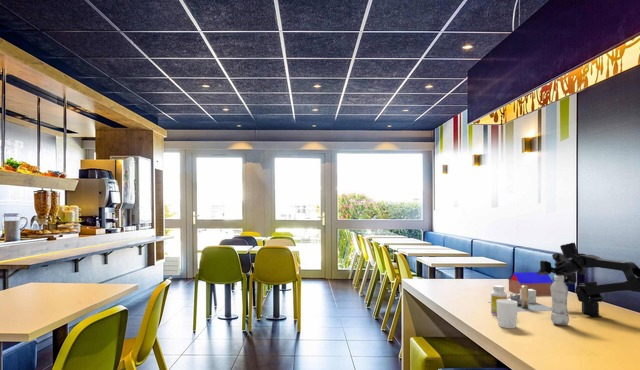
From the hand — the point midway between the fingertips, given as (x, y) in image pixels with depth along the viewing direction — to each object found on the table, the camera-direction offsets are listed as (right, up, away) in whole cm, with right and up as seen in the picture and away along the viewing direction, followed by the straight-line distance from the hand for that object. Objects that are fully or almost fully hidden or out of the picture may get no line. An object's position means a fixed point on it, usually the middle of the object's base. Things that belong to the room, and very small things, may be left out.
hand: (545, 276), depth 215 cm
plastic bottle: (-14, -12, -39) cm, 43 cm away
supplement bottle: (-33, -12, -24) cm, 43 cm away
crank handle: (-18, -12, -9) cm, 23 cm away
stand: (-17, -13, -10) cm, 23 cm away
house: (+6, -15, +28) cm, 32 cm away
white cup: (-37, -11, -41) cm, 57 cm away
